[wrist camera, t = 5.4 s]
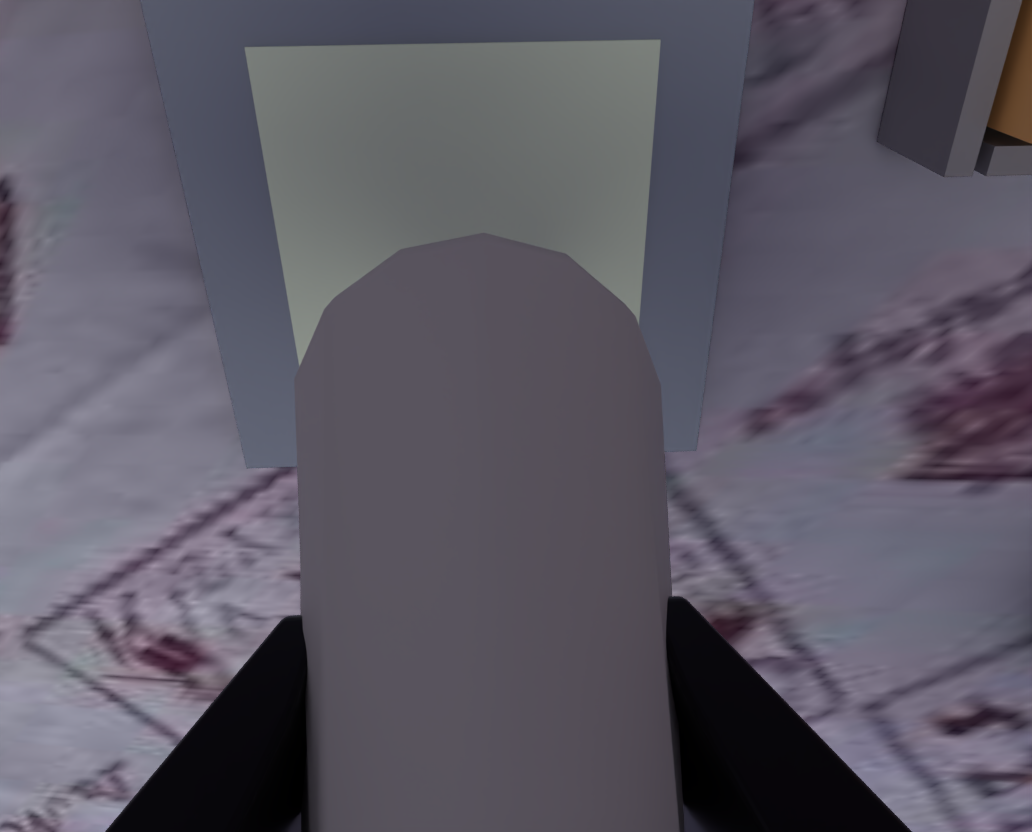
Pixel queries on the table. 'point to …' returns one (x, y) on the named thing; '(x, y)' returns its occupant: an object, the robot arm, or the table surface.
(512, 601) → the salt shaker
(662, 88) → the grey flat square slab
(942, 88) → the button housing
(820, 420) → the table surface
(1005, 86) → the push button
